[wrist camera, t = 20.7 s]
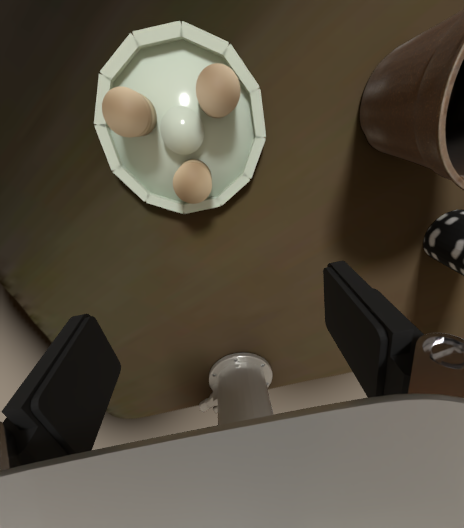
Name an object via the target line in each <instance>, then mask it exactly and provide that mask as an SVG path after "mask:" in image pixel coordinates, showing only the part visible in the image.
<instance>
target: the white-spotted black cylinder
mask: <svg viewBox="0 0 464 528" xmlns="http://www.w3.org/2000/svg"><path fill="white" fill-rule="evenodd" d="M423 244H424V250H425V252H426V253H427V254H428V255H429V256H430V257H432V258H434V259H435V260H437V261H439V262H441V263H442V264H444V265H446V266H448V267H449V268H451V269H453V270H455V271H456V272H458V273H460V274H462V275H463V276H464V210H454V211H451V212H448V213H446V214H444V215H442V216H441V217H439V218H438V219H437V220H436V221H435V222H434V223H433V224H432V225H431V226H430V227H429V229H428V231H427V232H426V234H425V237H424V243H423Z"/></svg>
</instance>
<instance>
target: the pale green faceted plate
mask: <svg viewBox="0 0 464 528" xmlns="http://www.w3.org/2000/svg"><path fill="white" fill-rule="evenodd" d="M133 35H134V36H133ZM133 35H132V34H131V33H130V34H129V35H128V37H127V38H126V39H125V40H124V42H123V43H122V44H121V46H120V47H119V48H118V49H117V51H116V52H115V53H114V54H113V56H112V57H111V58H110V59H109V61H108V62H107V63H106V64H105V66H104V67H103V68H102V69H101V71H100V72H101V73H102V74H103V75H101V74H99V79H98V89H97V99H96V109H95V118H94V124H97V125H96V126H95V129H96V131H97V134H98V137H99V139H100V142H101V144H102V147H103V149H104V152H105V155H106V157H107V160H108V162H109V165H110V167H111V170H114V171H113V173H114V174H115V175H116V176H117V177H119V178H120V179H121V180H122V181H123V182H124V183H125V184H126V185H127V186H128V187H129V188H130V189H131V190H132V191H133V192H134V193H135V194H137V195H138V196H139V197H140V198H141V199H142V200H143V201H144V202H145V201H146V203H148V204H152V205H155V206H158V207H162V208H165V209H168V210H172V211H175V212H178V213H182V214H183V212H184V213H185V214H187V213H192V212H197V211H201V210H206V209H211V208H215V207H220V204H221V205H223V204H224V203H226V202H227V201H228V200H229V199H230V198H231V197H232V196H233V195H234V194H236V193H237V192H238V191H239V190H240V189H241V188H242V187H243V186H245V185H246V184H247V183H248V182H249V181H250V179H249V178H251V179H252V176H253V173H254V170H255V167H256V165H257V162H258V159H259V156H260V153H261V151H262V148H263V145H264V142H265V140H266V139H265V138H263V137H266V132H265V124H264V116H263V107H262V99H261V91H260V89H258V88H259V85H258V84H257V82H256V81H255V79H254V78H253V76H252V75H251V73H250V72H249V70H248V69H247V67H246V66H245V64H244V63H243V61H242V60H241V59H240V57H239V56H238V54H237V53H236V51H235V50H234V48H233V47H232V45H231V44H230V45H229V46H228V43H229V42H227V41H225V40H223V39H221V38H218V37H216V36H214V35H212V34H210V33H208V32H205V31H203V30H201V29H199V28H197V27H195V26H192V25H190V24H188V23H186V22H184V21H182V26H181V22H180V21H176V22H172V23H168V24H163V25H159V26H155V27H150V28H146V29H142V30H137V31H133ZM215 63H220V64H224V65H226V66H228V67H229V68H231V69H232V70H233V71H234V73H235V74H236V76H237V78H238V80H239V83H240V98H239V101H238V104H237V106H236V107H235V109H234V110H233V111H232V112H231V113H229V114H228V115H227V116H225V117H222V118H212V117H210V116H208V115H207V114H206V113H205V112H204V111H203V110H202V109H201V107H200V105H199V102H198V100H197V96H196V82H197V79H198V76H199V74H200V73H201V71H202V70H203V69H204V68H205V67H207V66H209V65H211V64H215ZM119 86H121V87H127V88H130V89H132V90H134V91H136V92H138V93H140V94H142V95H144V96H145V97H147V98H148V99H149V100H150V101H151V103H152V104H153V106H154V108H155V110H156V114H157V122H156V126H155V128H154V129H153V131H152V132H151V133H149V134H148V135H146V136H140V137H123V136H120V135H118V134H116V133H115V132H114V131H112V130H111V129H110V127H109V126H108V125H107V123H106V122H105V119H104V117H103V113H102V102H103V98H104V96H105V95H106V93H107V92H108V91H109V90H111V89H112V88H115V87H119ZM257 89H258V90H257ZM190 159H197V160H200V161H202V162H204V163H205V164H206V165H207V166H208V167H209V169H210V172H211V176H212V189H211V192H210V194H209V196H208V197H207V198H206V199H205V200H204V201H202V202H200V203H196V204H190V203H187V202H184V201H183V200H181V199H180V198H179V197H178V196H177V195H176V193H175V191H174V188H173V177H174V174H175V173H176V171H177V170H178V168H179V167H180V166H181V164H182V163H184V162H185V161H187V160H190Z"/></svg>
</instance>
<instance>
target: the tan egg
mask: <svg viewBox="0 0 464 528" xmlns="http://www.w3.org/2000/svg"><path fill="white" fill-rule="evenodd" d="M102 113H103V117H104V119H105V122H106V123H107V125H108V126H109V127H110V129H111V130H112V131H114V132H115V133H116V134H118V135H120V136H123V137H140V136H146V135H148V134H149V133H151V132H152V131H153V129H154V128H155V126H156V122H157V114H156V110H155V108H154V106H153V104H152V103H151V101H150V100H149V99H148V98H147V97H145V96H144V95H142V94H140V93H138V92H136V91H134V90H132V89H130V88H127V87H121V86H119V87H115V88H112V89H111V90H109V91H108V92H107V93H106V95H105V96H104V98H103V102H102Z"/></svg>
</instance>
